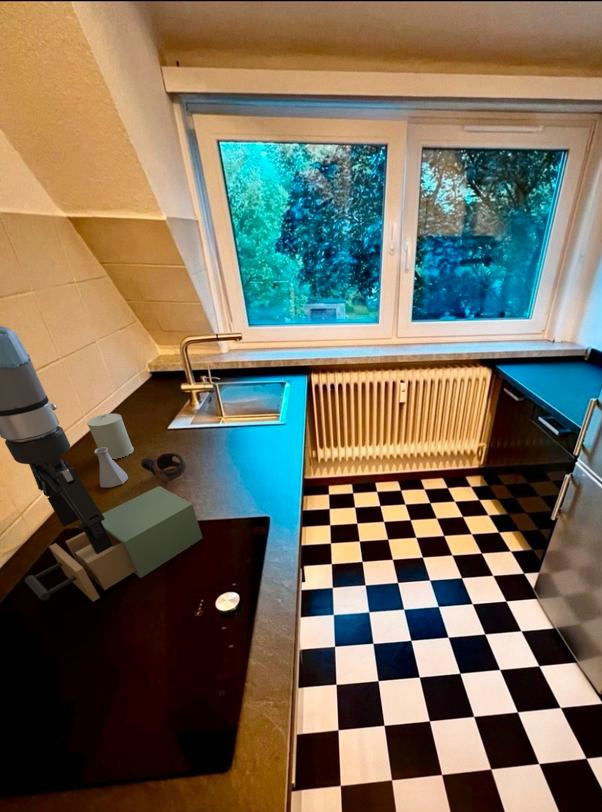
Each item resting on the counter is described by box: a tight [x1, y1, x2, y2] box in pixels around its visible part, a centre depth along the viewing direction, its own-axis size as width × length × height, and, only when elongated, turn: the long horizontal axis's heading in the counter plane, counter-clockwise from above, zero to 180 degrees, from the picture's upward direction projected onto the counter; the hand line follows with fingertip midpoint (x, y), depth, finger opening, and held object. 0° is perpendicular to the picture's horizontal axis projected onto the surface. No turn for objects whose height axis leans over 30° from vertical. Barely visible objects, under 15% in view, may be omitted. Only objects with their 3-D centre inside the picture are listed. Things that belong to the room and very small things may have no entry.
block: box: [75, 544, 113, 581], centre depth 76 cm, size 5×5×5 cm
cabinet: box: [101, 485, 204, 579], centre depth 83 cm, size 15×13×10 cm
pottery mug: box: [140, 451, 188, 485], centre depth 108 cm, size 12×10×8 cm
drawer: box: [24, 531, 136, 602], centre depth 75 cm, size 19×11×8 cm, turn 145°
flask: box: [94, 447, 129, 488], centre depth 105 cm, size 7×7×10 cm
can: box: [86, 413, 135, 460], centre depth 119 cm, size 9×9×12 cm
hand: (86, 535), depth 72 cm, fingers open, 13 cm apart
